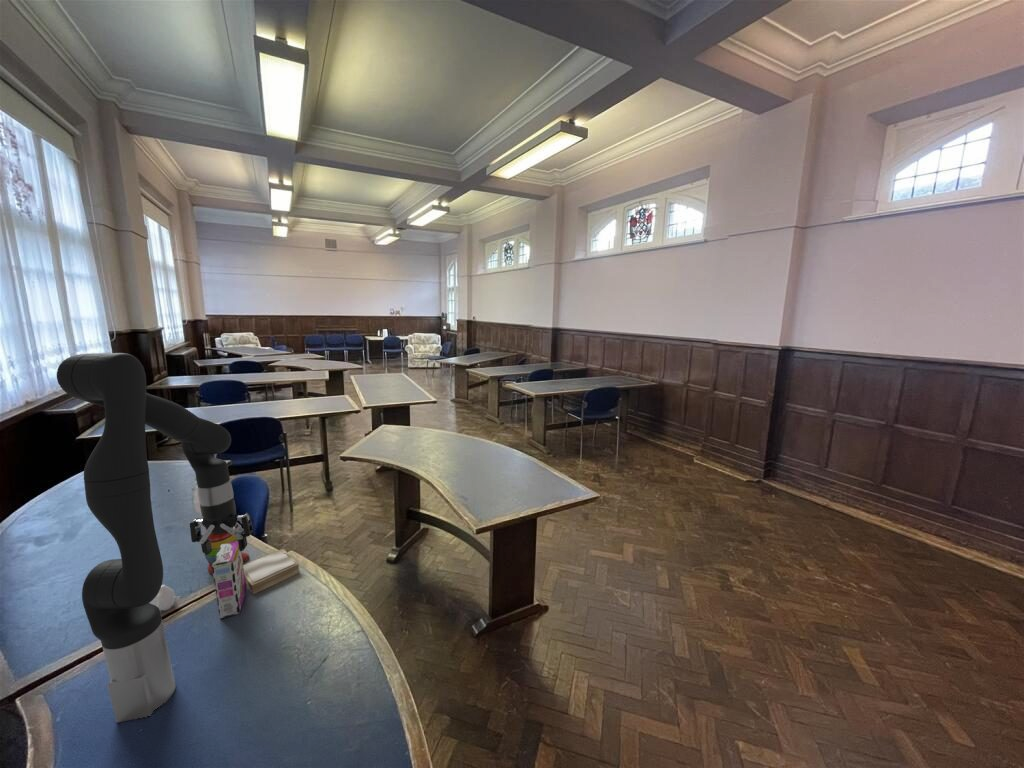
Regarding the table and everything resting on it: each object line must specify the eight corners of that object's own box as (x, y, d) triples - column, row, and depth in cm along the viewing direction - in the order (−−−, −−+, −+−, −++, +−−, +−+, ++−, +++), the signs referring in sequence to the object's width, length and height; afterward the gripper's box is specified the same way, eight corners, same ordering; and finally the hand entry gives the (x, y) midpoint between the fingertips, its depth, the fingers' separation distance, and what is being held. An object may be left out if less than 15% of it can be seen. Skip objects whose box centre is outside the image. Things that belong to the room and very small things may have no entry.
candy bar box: (241, 614, 111) (232, 561, 108) (219, 620, 109) (210, 566, 106) (248, 588, 121) (240, 539, 118) (228, 593, 119) (219, 543, 116)
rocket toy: (158, 618, 110) (152, 593, 108) (151, 610, 113) (146, 585, 111) (182, 606, 114) (177, 581, 112) (175, 598, 117) (170, 574, 115)
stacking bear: (224, 577, 126) (215, 526, 122) (197, 573, 128) (188, 523, 124) (252, 556, 136) (245, 508, 133) (227, 553, 138) (219, 506, 135)
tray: (299, 572, 128) (298, 563, 127) (253, 594, 118) (251, 584, 118) (284, 556, 136) (282, 547, 136) (239, 575, 127) (238, 566, 126)
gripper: (178, 507, 103) (189, 563, 107) (239, 502, 106) (248, 556, 109) (194, 494, 110) (204, 546, 114) (251, 489, 113) (259, 540, 117)
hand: (226, 551), depth 112 cm, fingers open, 8 cm apart
